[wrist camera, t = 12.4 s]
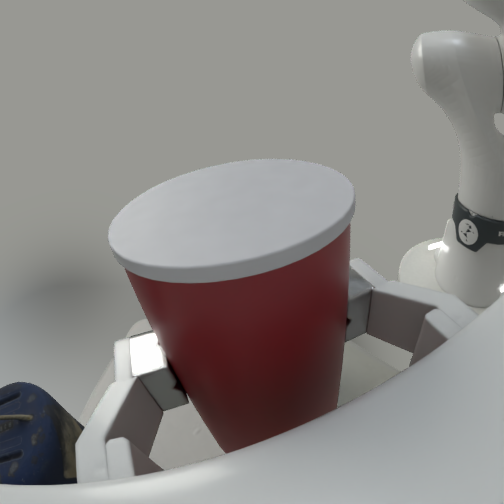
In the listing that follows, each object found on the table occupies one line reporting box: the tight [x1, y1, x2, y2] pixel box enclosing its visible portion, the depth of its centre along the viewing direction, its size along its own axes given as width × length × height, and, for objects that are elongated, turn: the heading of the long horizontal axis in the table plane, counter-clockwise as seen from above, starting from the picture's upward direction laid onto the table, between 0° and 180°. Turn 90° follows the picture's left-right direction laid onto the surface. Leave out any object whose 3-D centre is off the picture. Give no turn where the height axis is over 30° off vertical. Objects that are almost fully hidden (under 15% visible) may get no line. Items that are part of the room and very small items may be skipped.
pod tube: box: [108, 159, 355, 454], centre depth 9 cm, size 5×5×9 cm
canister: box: [0, 382, 85, 485], centre depth 16 cm, size 10×10×18 cm
